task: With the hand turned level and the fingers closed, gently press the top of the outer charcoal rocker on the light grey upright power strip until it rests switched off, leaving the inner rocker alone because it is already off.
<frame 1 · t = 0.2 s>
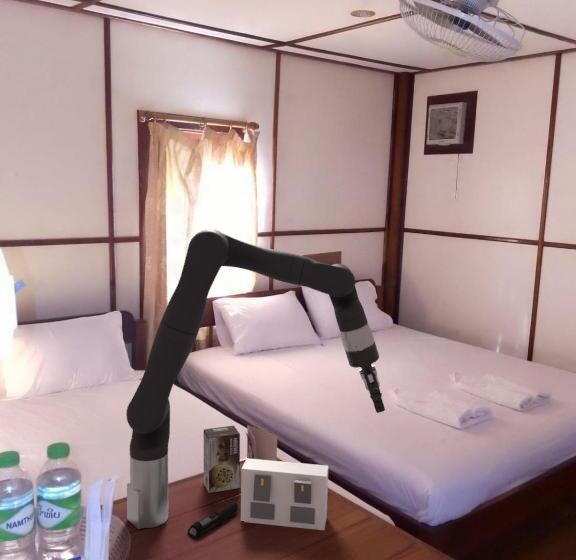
hand: (378, 404, 149), 31 cm above the table, tool tilted 20°, fingers open, 8 cm apart
inner rocker: (262, 488, 148), point 10 cm above the table, hinge at -13.0°
coffee box: (221, 486, 170), on the table
electric trimmer: (213, 525, 151), on the table
outer rocker: (302, 492, 147), point 10 cm above the table, hinge at 13.0°
greeting card: (260, 482, 173), on the table
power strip: (284, 519, 153), on the table
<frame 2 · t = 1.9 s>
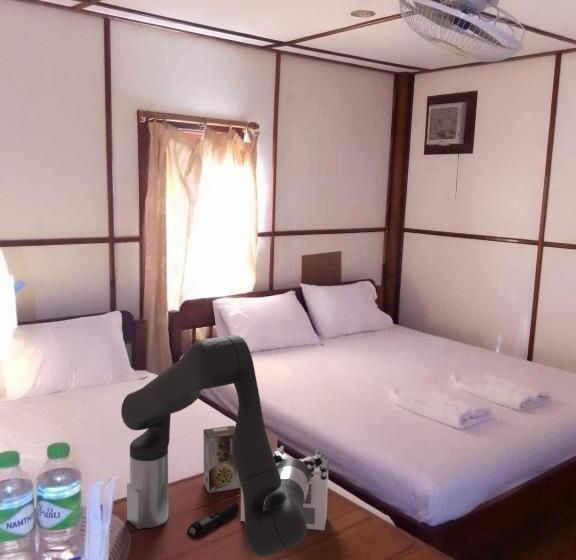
hand: (299, 451, 137), 24 cm above the table, tool horizontal, fingers open, 7 cm apart
nothing on the table moved.
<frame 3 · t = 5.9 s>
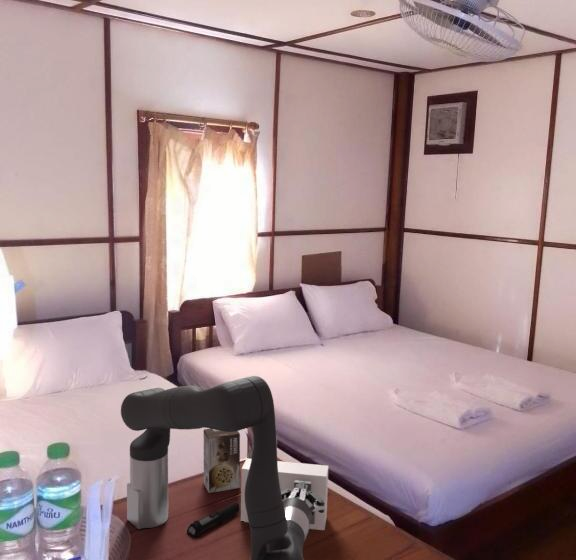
hand: (302, 485, 146), 12 cm above the table, tool horizontal, fingers closed
outer rocker: (302, 492, 147), point 10 cm above the table, hinge at 12.9°, touching gripper
everything else where it was.
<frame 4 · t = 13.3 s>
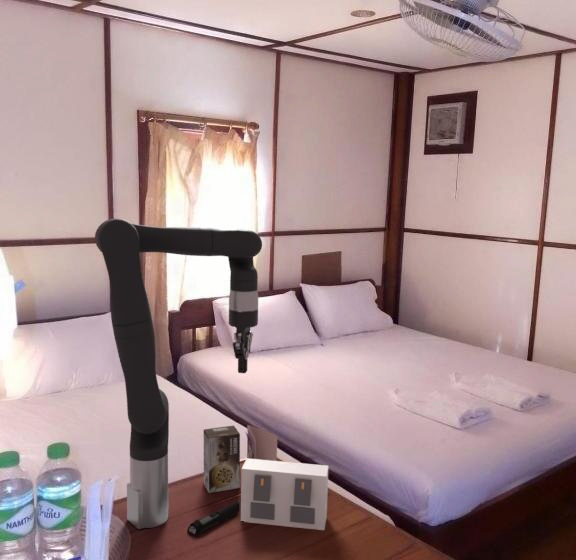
hand: (242, 372, 159), 35 cm above the table, tool pointing down, fingers closed
outer rocker: (302, 492, 147), point 10 cm above the table, hinge at -18.6°, touching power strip
everything else where it was.
at the end: outer rocker at -18° (first picture: +13°); inner rocker at -13° (first picture: -13°) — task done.
